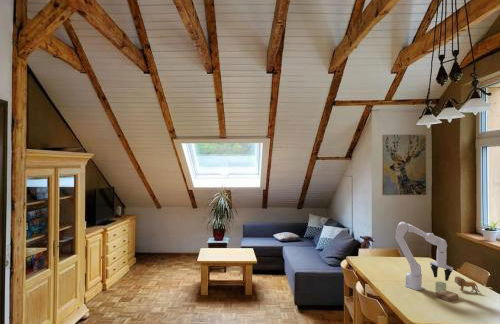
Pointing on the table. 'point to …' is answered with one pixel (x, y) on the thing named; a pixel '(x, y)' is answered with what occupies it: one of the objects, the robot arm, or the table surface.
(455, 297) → the walnut block
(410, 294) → the table surface
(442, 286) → the sage block
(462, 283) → the lion figurine
